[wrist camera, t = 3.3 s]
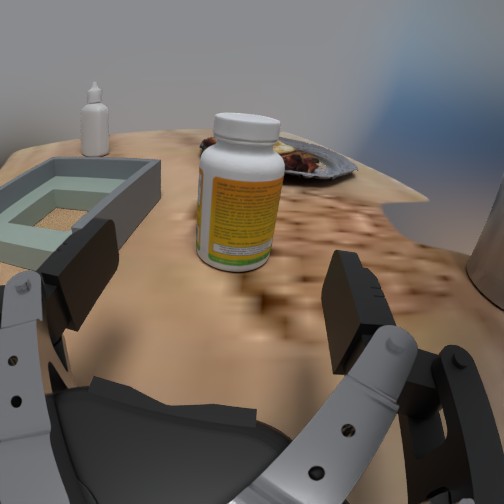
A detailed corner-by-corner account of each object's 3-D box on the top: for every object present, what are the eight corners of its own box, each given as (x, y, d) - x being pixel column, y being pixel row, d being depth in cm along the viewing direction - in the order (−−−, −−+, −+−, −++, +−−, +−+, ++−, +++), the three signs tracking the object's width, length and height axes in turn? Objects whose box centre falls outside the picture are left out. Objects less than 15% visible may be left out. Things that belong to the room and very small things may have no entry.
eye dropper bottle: (105, 148, 44) (106, 80, 37) (110, 155, 40) (110, 80, 34) (81, 152, 41) (80, 83, 35) (83, 160, 38) (82, 83, 31)
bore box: (93, 284, 17) (81, 228, 14) (-24, 254, 16) (-37, 212, 14) (160, 198, 28) (160, 159, 26) (56, 189, 28) (52, 157, 26)
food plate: (296, 202, 31) (303, 170, 29) (169, 154, 43) (170, 132, 41) (369, 176, 48) (374, 158, 47) (267, 143, 60) (270, 127, 58)
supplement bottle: (284, 258, 22) (310, 126, 17) (227, 284, 19) (245, 125, 13) (236, 227, 25) (250, 111, 20) (181, 245, 22) (186, 111, 16)
